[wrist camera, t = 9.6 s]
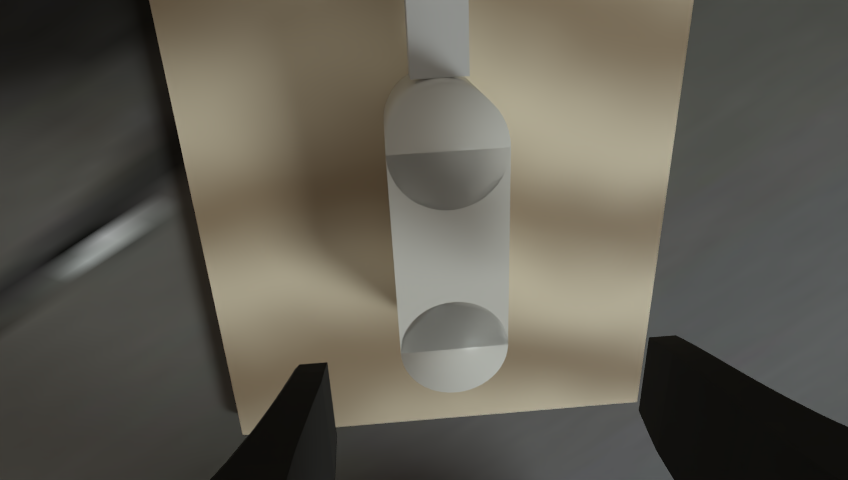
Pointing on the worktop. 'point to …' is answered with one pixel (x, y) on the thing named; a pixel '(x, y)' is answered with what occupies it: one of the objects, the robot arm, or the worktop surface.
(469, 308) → the usb connector
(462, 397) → the wood pad
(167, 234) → the worktop surface
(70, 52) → the worktop surface
